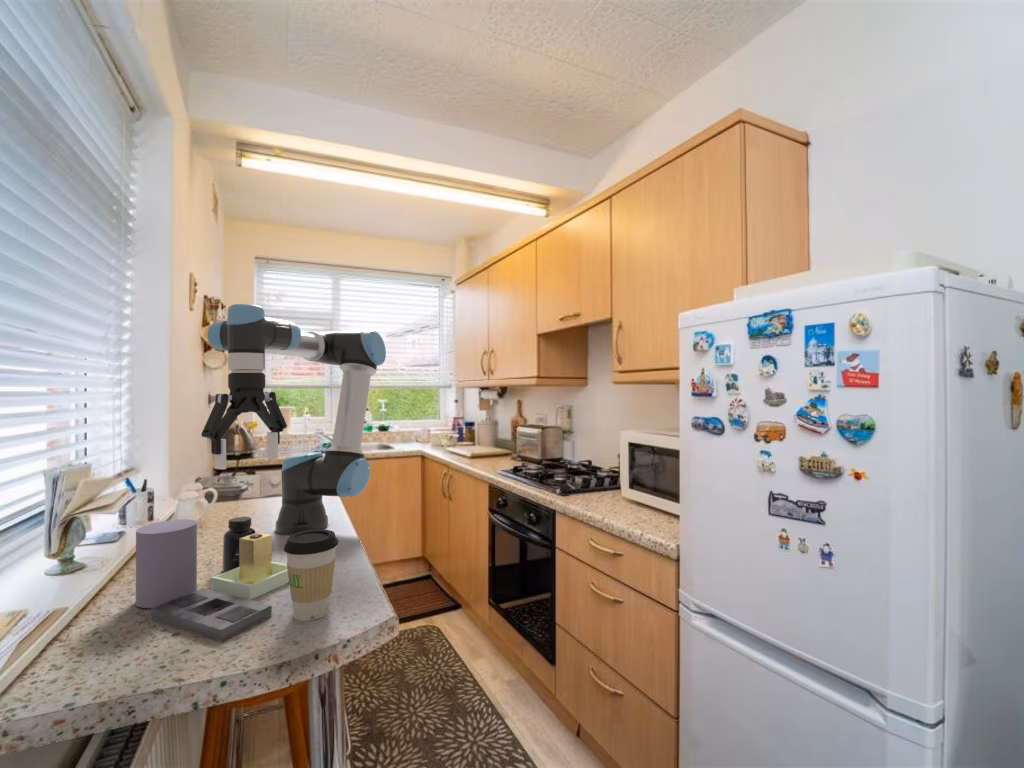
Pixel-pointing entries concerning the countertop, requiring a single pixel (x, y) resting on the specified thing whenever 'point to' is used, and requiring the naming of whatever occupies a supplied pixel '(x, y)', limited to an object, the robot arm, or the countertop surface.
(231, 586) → the tray
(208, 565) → the countertop surface
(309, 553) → the coffee cup
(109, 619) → the countertop surface
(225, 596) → the slotted grey trivet
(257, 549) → the upright wooden post
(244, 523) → the supplement bottle
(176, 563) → the container
